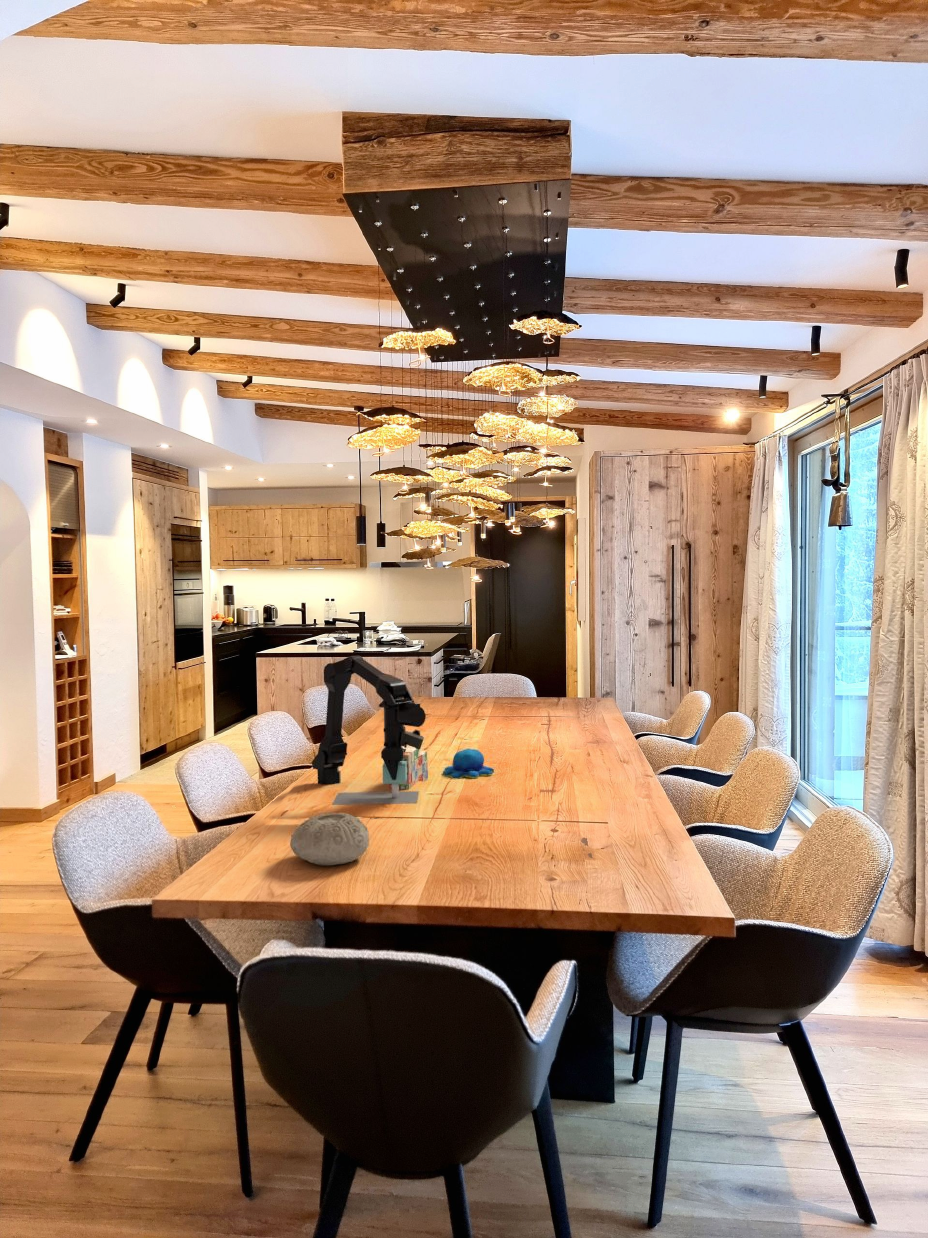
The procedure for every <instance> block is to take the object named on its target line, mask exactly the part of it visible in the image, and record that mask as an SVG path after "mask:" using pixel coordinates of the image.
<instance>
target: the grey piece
mask: <svg viewBox="0 0 928 1238" xmlns="http://www.w3.org/2000/svg"><path fill="white" fill-rule="evenodd" d="M419 793H420V791H419V790H417V791H415V790H412V791H410V790H407V791H403V790H402V791H400V789H399V783H392V788H391V791H365V792H363V791H361V792H359V791H358V792H355V791H354V792H338V793H337V795H336V797H335V798H334V799H333V802H332V804H331V806H337V805H338V806H342V805H344V806H345V805H347V806H348V805H349V806H351V805H391V804H392V805H397V804H398V805H399V804H418V800H419V799H418V798H419Z"/></svg>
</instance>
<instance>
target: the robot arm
mask: <svg viewBox="0 0 928 1238" xmlns="http://www.w3.org/2000/svg"><path fill="white" fill-rule="evenodd" d="M354 674H355V675H358V676H359V677H360V678H362V679H363V680H364V681H366V682H367V683H369V685H371V686H372V687H374V688H375V692H376V694H377V695H378V696H379V697H380V698H381V699H382V701H381V702H380V703H379V704H378V707H379V708H383V736H384V737H383V738H384V741H383V748H381V750H380V755H381V756H380V757H381V758H380V759H382V760H383V764H384V763H385V765H386V767H387V769H388V771H389V774H390V776H391V778H392V780H396V777H397V771H398V765H399V762H400V761H401V760H402V759H403V758H404V752H405V751H406V749H403V748H402V747H401V746H403V747H404V748H406V747H415V748H416V749H419V750H421V748H422V745H423V742H424V739H425V737H424V735H421V731H420V730H418V729H414V730H413V731H407V730H406V726H408V727H413V728H420V727H422V726H423V725H424V723H425V721H426V711H425V710H424V708H423V707H421V703H420V702H415V701H414V699H413V696H412V694H411V692H410V690H409V688H408V686H407V683H406V682H405V681H404V680H402V679H401V678H398V677H395V676H392V675H387V674H385V673H384V672H382V671H381V670H380V669H378V668H377V667H375V665H373V664H371V663H370V662H368V661H367V660H365V659H364V657H362V656H360V655H351V656H347V657H345V658H344V659H342V660H338V661H335V662H329V663H327V664H326V665H325V666H324V668H323V683H324V685H325V686H326V688H327V690H328V691H327V704H326V717H325V718H326V719H325V730H324V731H325V732H324V737H323V738H322V740H321V741H320V743H319V745H318V751H317V753H316V754H315V757H314V758H313V759H312V761H311V765H312V766H311V767H312V769H313V770H317V785H324V786H325V785H334V784H335V785H336V784H342V783H341V781H342V777H341V776H342V774H341V770H339V769H340V767H343V766H344V763H345V759H346V756H347V755H348V752H347V751H348V750H347V748H348V742H345V741H344V739H343V737H342V731H343V729H342V727H343V719H344V718H343V717H344V716H343V714H344V704H345V703H344V702H345V700H344V699H345V693H346V690H347V689H348V687H349V686H350V683H351V680H352V676H353V675H354Z"/></svg>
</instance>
